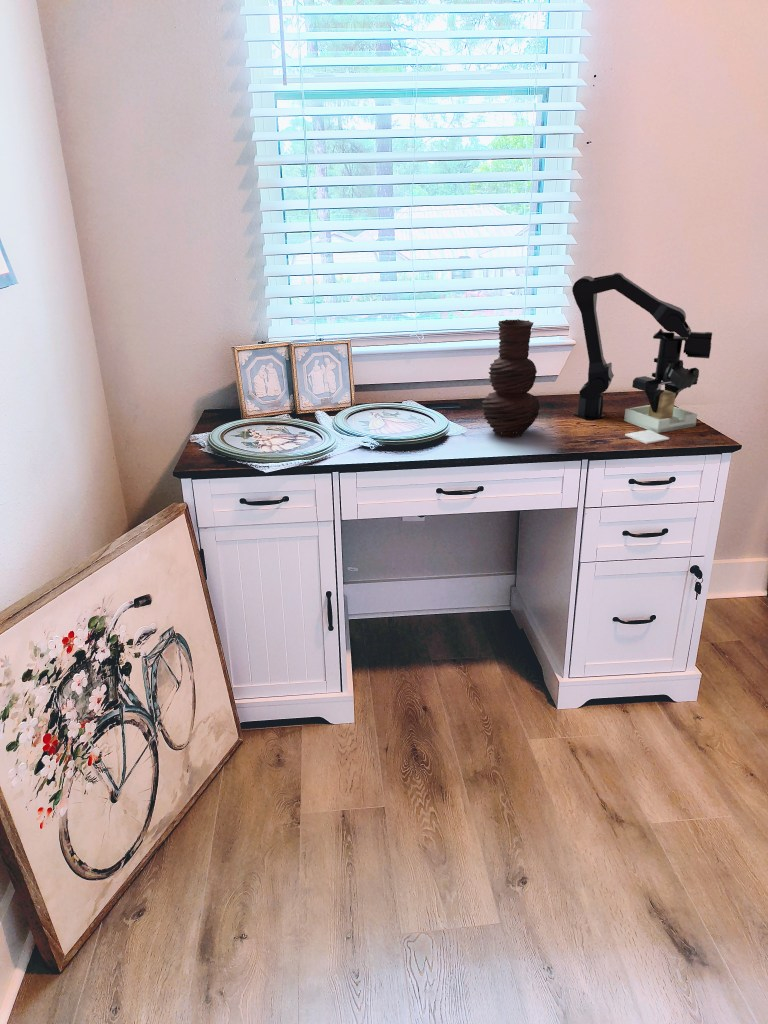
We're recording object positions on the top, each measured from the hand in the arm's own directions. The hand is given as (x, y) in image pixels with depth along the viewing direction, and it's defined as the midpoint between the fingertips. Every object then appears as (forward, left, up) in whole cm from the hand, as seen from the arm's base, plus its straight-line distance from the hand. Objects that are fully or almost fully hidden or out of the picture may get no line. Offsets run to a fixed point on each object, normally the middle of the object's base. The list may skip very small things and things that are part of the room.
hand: (661, 411), depth 212 cm
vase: (-43, +11, -4) cm, 45 cm away
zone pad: (-12, -8, -4) cm, 15 cm away
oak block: (0, 0, -2) cm, 2 cm away
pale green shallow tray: (0, 0, -4) cm, 4 cm away
